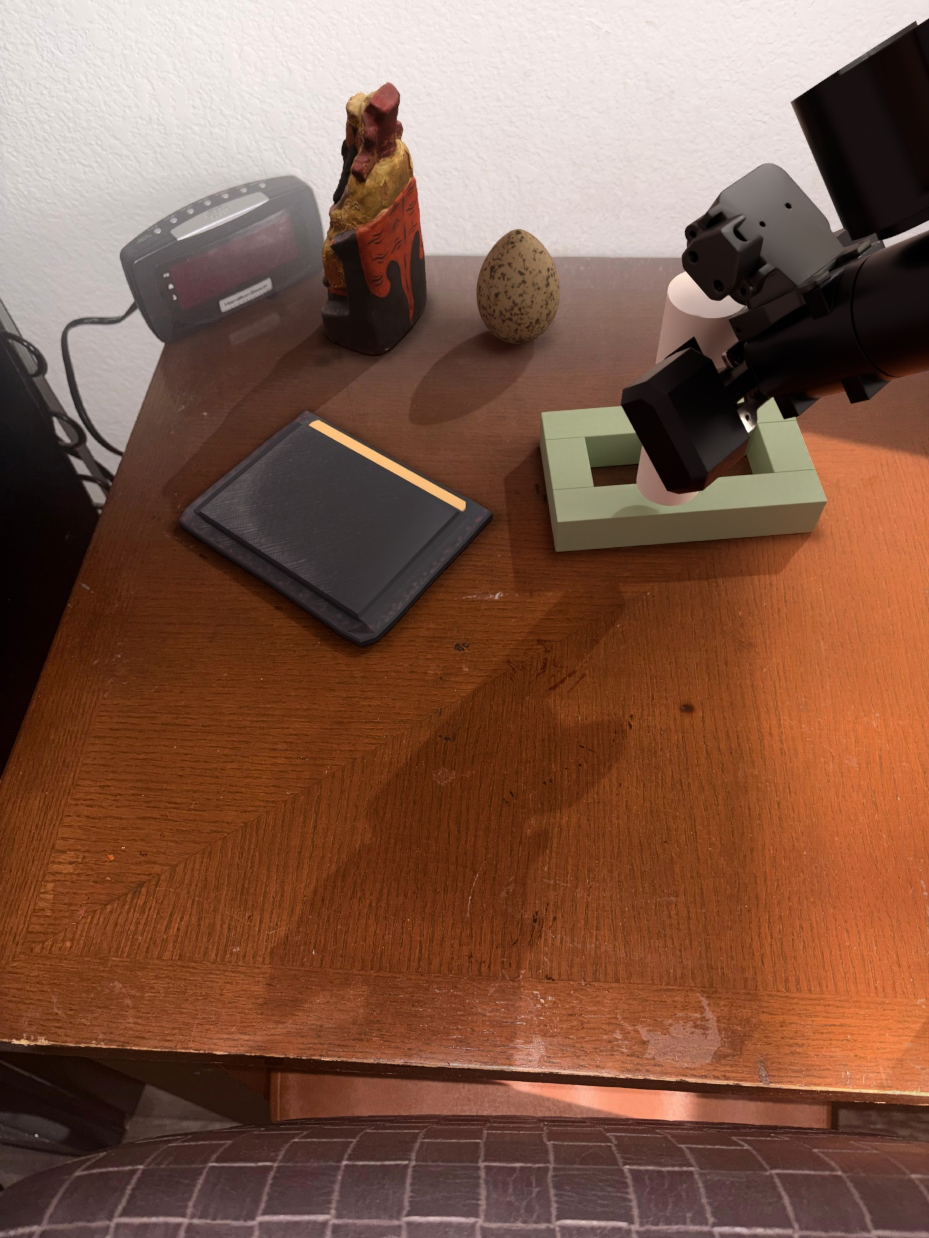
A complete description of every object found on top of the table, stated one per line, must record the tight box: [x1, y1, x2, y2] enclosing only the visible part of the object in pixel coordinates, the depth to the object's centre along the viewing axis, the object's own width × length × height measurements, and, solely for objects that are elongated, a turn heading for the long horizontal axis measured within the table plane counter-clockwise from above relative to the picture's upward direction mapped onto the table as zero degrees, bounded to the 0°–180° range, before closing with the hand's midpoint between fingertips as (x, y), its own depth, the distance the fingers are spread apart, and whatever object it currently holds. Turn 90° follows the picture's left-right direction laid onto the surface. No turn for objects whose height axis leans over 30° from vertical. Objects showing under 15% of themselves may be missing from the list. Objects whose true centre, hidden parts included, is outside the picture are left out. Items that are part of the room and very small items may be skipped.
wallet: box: [177, 409, 494, 648], centre depth 64 cm, size 20×2×15 cm
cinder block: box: [539, 398, 828, 553], centre depth 64 cm, size 11×19×4 cm, turn 93°
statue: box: [320, 81, 428, 356], centre depth 69 cm, size 12×8×20 cm, turn 149°
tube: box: [635, 271, 747, 506], centre depth 52 cm, size 4×4×15 cm
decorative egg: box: [475, 228, 561, 344], centre depth 71 cm, size 7×7×10 cm
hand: (668, 387), depth 52 cm, fingers closed on tube, 4 cm apart
